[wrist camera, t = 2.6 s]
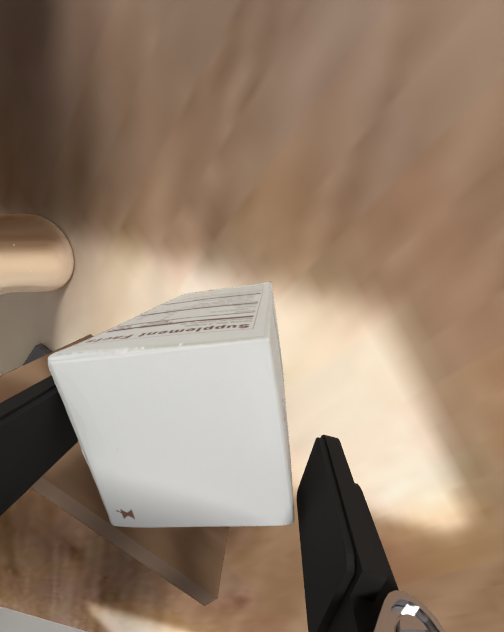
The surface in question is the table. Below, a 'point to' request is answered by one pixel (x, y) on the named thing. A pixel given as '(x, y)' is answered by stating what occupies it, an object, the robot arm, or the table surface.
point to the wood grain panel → (139, 542)
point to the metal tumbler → (33, 254)
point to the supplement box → (185, 412)
